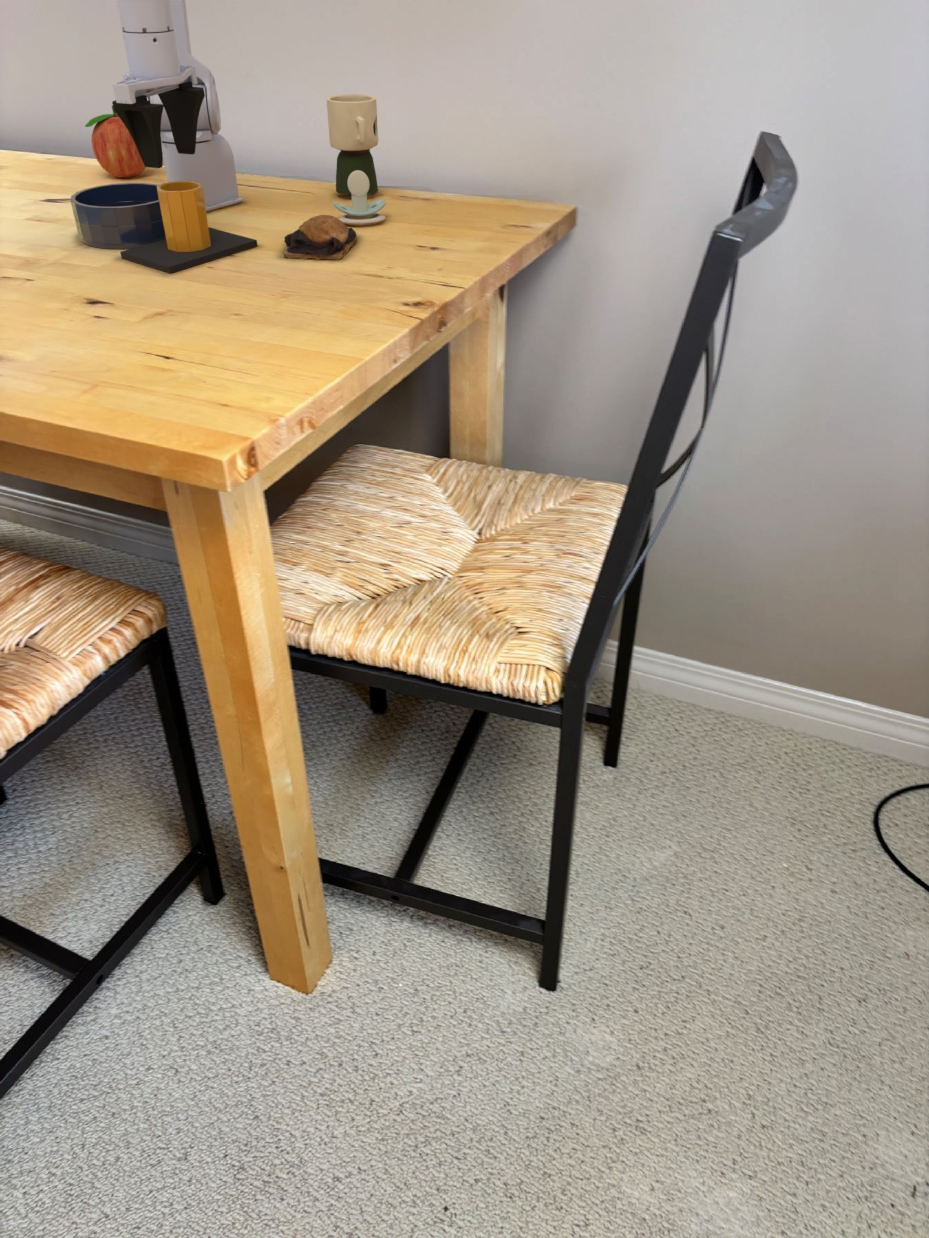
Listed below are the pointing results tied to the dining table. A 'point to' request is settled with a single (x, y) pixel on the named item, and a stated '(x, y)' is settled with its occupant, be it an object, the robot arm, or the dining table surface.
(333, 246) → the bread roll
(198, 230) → the cup
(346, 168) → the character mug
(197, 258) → the pot holder
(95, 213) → the pot
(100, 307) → the dining table surface
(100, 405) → the dining table surface
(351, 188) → the pacifier
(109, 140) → the fruit
